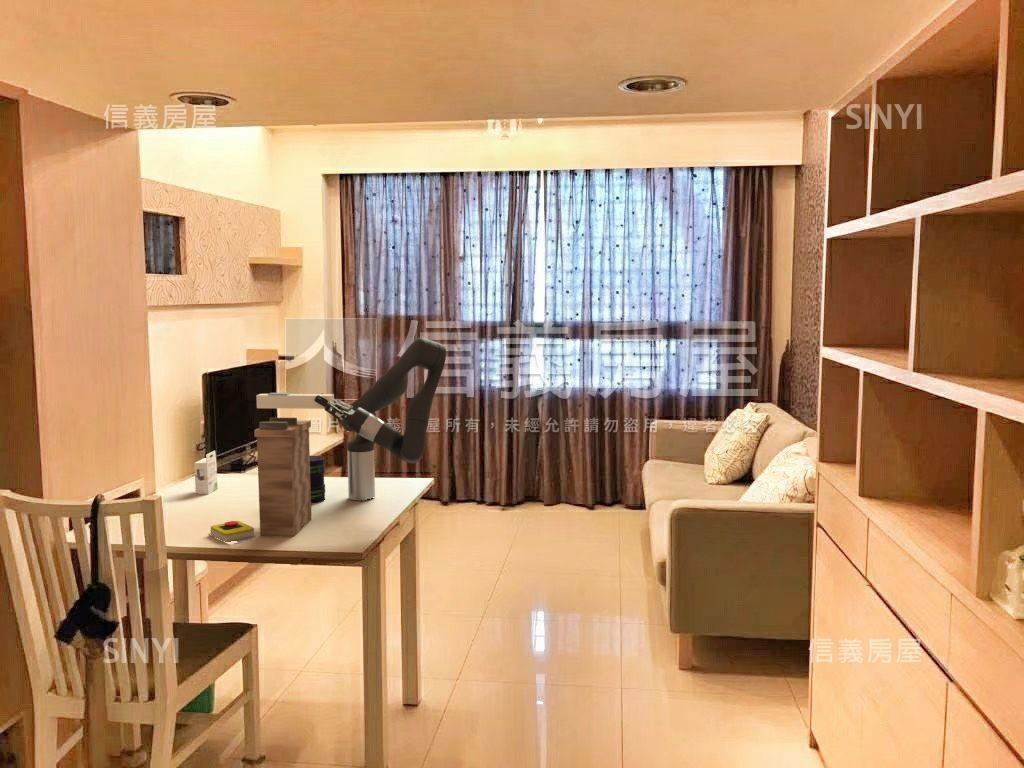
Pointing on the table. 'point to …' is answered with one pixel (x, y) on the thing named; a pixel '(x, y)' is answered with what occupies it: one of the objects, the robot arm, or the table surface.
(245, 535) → the emergency button
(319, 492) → the dark blue cylinder
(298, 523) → the tall stand
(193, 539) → the table surface
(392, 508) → the table surface
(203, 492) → the ink box
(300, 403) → the bar
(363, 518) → the table surface
